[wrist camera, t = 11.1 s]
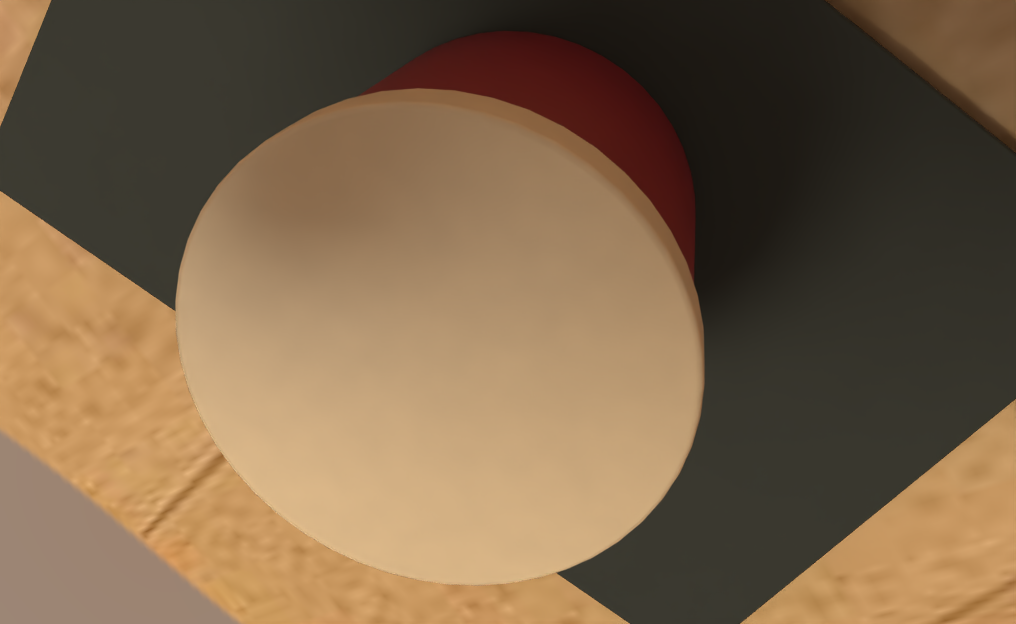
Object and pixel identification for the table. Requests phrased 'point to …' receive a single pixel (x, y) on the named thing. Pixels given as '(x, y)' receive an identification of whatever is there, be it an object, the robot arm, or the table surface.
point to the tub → (455, 313)
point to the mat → (718, 233)
